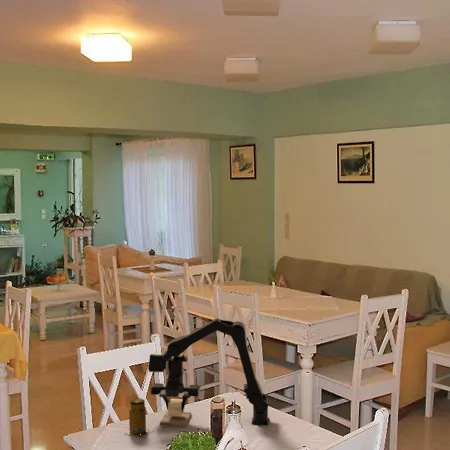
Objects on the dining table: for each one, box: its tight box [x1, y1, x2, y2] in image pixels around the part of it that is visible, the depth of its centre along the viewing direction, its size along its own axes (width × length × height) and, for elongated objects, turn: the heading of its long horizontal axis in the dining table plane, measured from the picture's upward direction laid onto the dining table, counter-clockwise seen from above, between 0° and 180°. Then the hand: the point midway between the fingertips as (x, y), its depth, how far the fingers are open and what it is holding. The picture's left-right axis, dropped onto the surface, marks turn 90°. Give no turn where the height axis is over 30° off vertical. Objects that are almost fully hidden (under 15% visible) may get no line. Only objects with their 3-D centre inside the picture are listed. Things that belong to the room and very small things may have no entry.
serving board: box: [159, 410, 192, 428], centre depth 238 cm, size 12×10×1 cm
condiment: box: [124, 398, 155, 438], centre depth 226 cm, size 7×8×12 cm
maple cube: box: [167, 398, 184, 417], centre depth 237 cm, size 5×5×5 cm
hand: (175, 411), depth 237 cm, fingers closed on maple cube, 5 cm apart
